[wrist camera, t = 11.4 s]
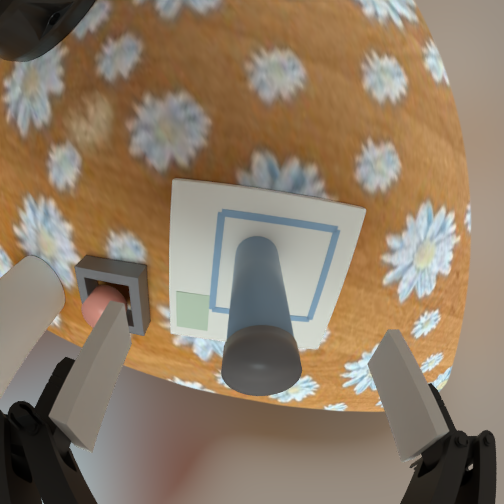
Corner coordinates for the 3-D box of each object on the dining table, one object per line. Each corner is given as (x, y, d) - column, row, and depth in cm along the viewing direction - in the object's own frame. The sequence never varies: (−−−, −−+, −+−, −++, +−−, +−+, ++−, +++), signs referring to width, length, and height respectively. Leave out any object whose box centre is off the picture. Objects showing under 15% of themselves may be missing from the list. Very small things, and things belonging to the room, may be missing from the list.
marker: (235, 233, 22) (222, 344, 11) (281, 237, 22) (309, 348, 11) (232, 273, 24) (221, 393, 13) (276, 276, 24) (293, 396, 13)
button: (89, 281, 23) (77, 295, 21) (125, 288, 23) (114, 304, 21) (96, 313, 25) (86, 328, 22) (129, 321, 25) (121, 337, 23)
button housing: (86, 255, 24) (74, 266, 22) (146, 265, 25) (138, 278, 22) (95, 309, 27) (86, 322, 25) (150, 321, 28) (144, 335, 25)
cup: (71, 282, 26) (-8, 385, 11) (59, 322, 28) (2, 412, 14) (23, 242, 23) (-65, 321, 9) (17, 287, 26) (-48, 362, 12)
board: (175, 177, 21) (172, 180, 20) (362, 206, 22) (366, 210, 21) (172, 328, 28) (170, 334, 27) (316, 344, 29) (317, 349, 28)
